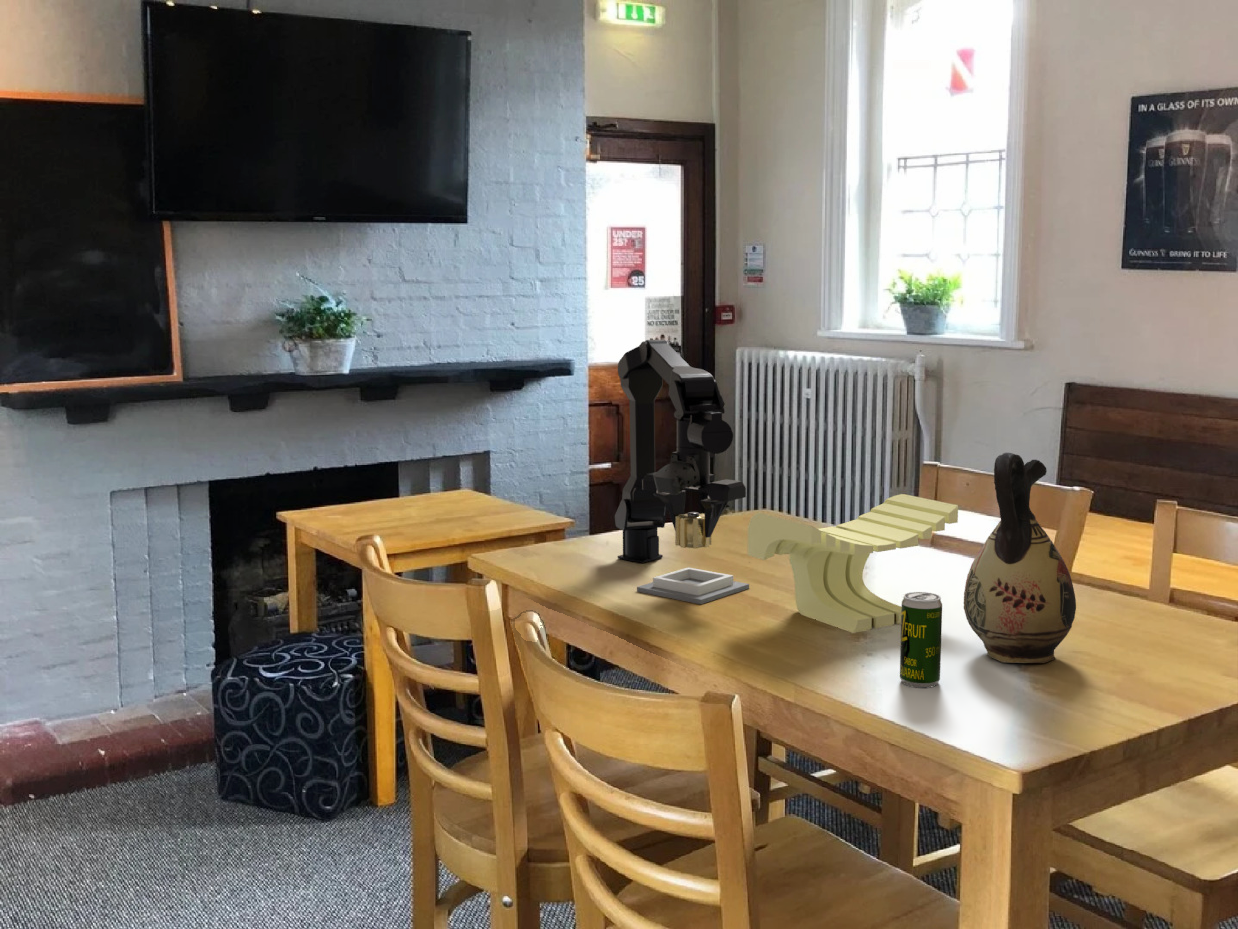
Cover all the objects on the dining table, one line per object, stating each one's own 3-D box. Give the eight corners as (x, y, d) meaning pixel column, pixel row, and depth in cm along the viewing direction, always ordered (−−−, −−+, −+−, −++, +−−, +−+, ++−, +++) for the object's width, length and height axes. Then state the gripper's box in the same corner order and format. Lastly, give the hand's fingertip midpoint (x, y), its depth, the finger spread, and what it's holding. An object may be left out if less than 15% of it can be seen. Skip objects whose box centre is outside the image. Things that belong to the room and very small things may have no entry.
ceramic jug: (988, 635, 200) (995, 440, 195) (1089, 653, 190) (1098, 449, 186) (938, 661, 187) (944, 454, 182) (1044, 682, 177) (1053, 463, 173)
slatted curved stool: (887, 592, 226) (889, 491, 223) (954, 613, 212) (958, 505, 210) (747, 617, 211) (747, 509, 208) (809, 641, 197) (811, 525, 195)
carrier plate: (636, 591, 228) (636, 578, 228) (686, 576, 239) (686, 563, 238) (700, 604, 219) (700, 590, 219) (749, 588, 230) (749, 575, 229)
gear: (668, 545, 228) (668, 513, 227) (690, 539, 232) (690, 508, 231) (696, 550, 223) (696, 518, 223) (718, 544, 228) (718, 512, 227)
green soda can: (911, 673, 181) (913, 589, 180) (947, 681, 178) (949, 595, 176) (892, 683, 177) (894, 597, 175) (928, 691, 174) (931, 603, 172)
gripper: (621, 446, 225) (622, 535, 228) (708, 456, 213) (708, 550, 215) (662, 439, 233) (662, 525, 236) (748, 448, 221) (747, 539, 224)
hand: (693, 534), depth 227 cm, fingers closed on gear, 6 cm apart
